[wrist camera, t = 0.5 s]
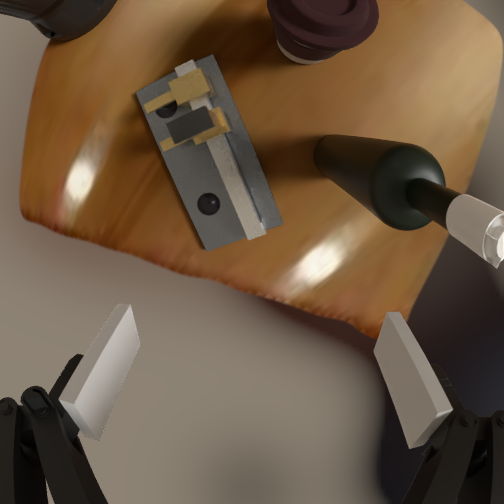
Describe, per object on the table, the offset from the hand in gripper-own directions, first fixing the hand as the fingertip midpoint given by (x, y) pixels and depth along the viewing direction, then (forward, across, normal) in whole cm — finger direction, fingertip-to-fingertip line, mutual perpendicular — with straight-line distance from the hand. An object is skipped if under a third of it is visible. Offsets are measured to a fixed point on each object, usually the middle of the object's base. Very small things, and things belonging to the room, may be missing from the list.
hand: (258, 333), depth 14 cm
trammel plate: (+26, -7, +6) cm, 28 cm away
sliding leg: (+25, -8, +9) cm, 28 cm away
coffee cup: (+27, +5, +22) cm, 35 cm away
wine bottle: (+26, +10, +6) cm, 29 cm away
